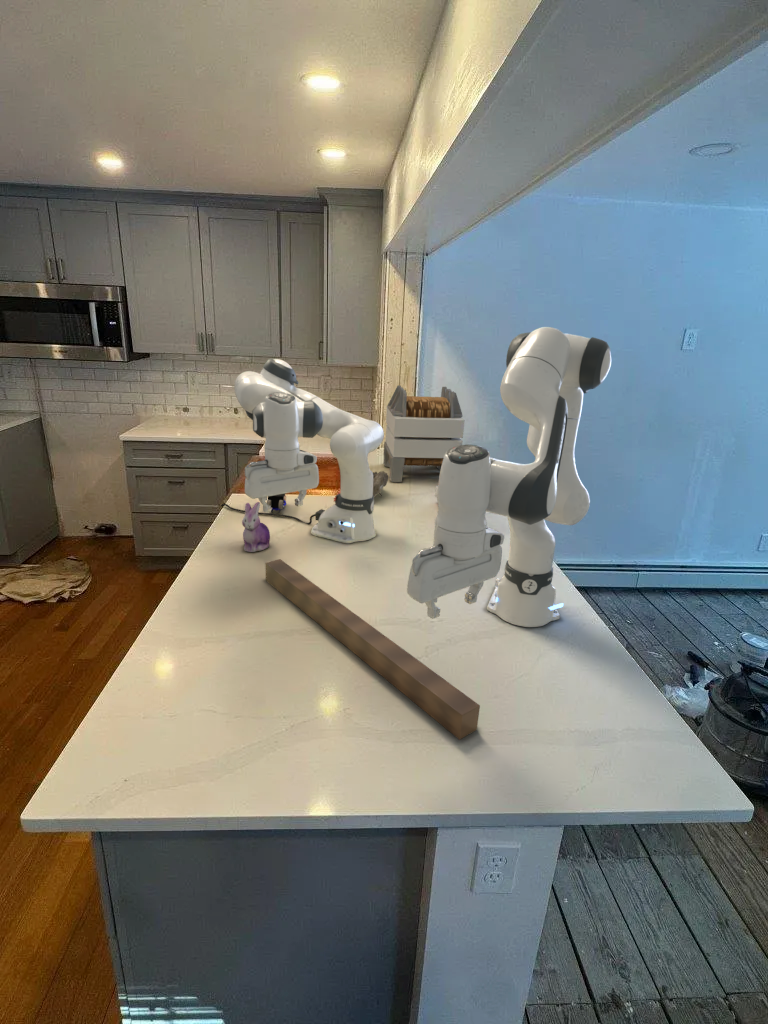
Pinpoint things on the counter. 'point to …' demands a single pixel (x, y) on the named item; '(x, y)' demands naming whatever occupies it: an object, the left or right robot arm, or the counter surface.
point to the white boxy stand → (420, 430)
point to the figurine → (254, 530)
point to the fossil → (379, 482)
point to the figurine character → (277, 502)
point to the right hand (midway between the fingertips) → (452, 609)
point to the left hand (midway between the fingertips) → (283, 508)
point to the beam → (378, 652)
